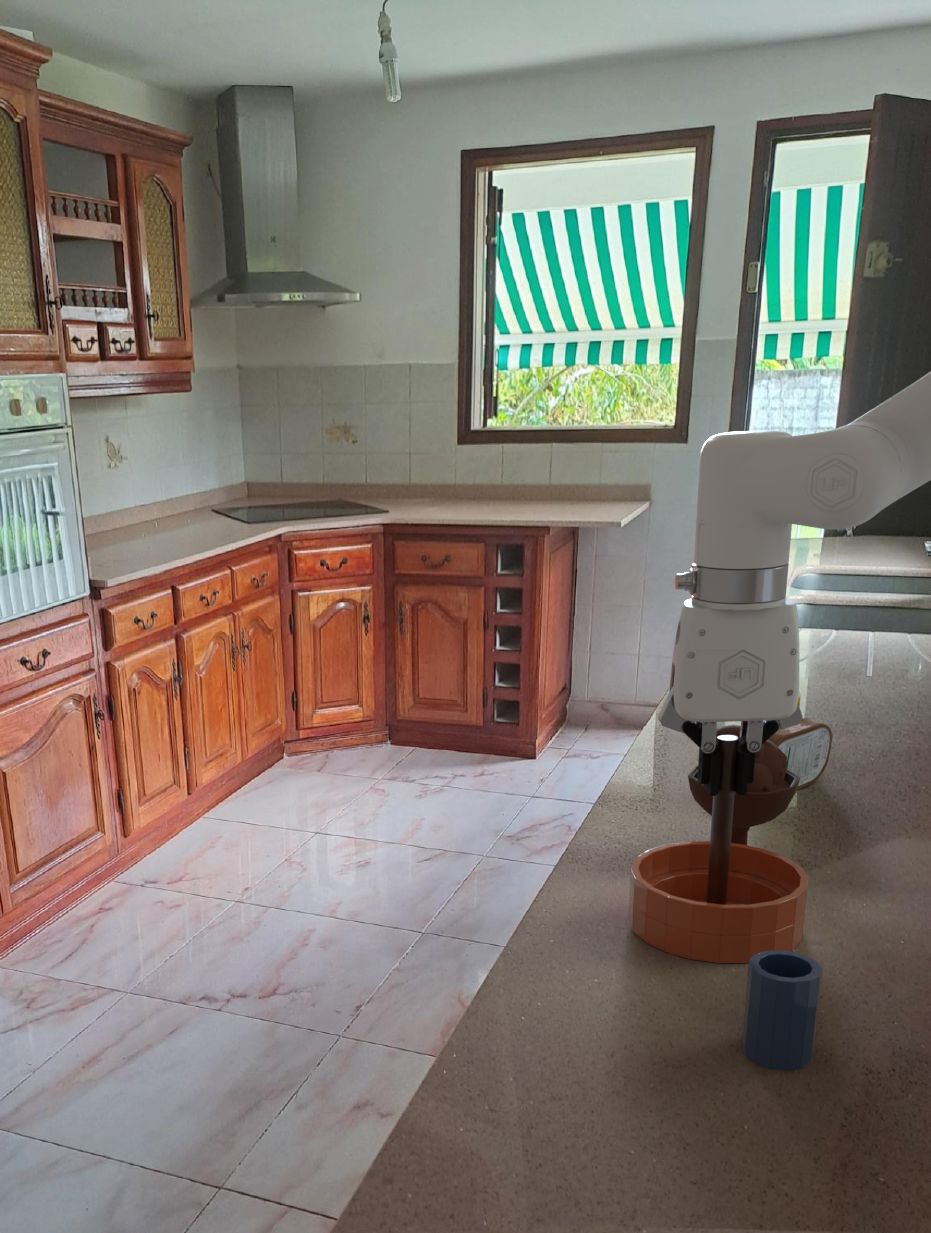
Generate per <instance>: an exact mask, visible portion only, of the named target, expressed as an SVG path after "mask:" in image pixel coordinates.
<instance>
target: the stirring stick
mask: <svg viewBox="0 0 931 1233" xmlns="http://www.w3.org/2000/svg"><path fill="white" fill-rule="evenodd" d="M738 742H739V738H738V737H736V736H732V735H721V736H718V737H717V745H718V747H717V751H718V752H719V753H720V754H721V764H720V778H719V792H718V794H716V796H713V807H712V816H711V822H710V836H709V837H710V838H709V841H710V851H709V865H708V880H707V895H706V903H713V904H721V905H726V901H727V888H728V875H729V861H730V848H731V835H732V822H733V808H734V795H735V781H736V767H737V754H738Z"/></svg>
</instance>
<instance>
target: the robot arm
mask: <svg viewBox="0 0 931 1233" xmlns="http://www.w3.org/2000/svg"><path fill="white" fill-rule="evenodd" d="M699 456H700V457H699V465H698V484H697V485H698V486H697V502H696V517H695V519H696V520H695V537H694V541H695V542H694V554H693V556H694V557H693V563H691V568H689V571H685V572H684V573H676V574H675V577H674V578H675V579H674V587H675V590H676V591H678V590H679V591H680V590H683V591H684V592H688V593H689V594H690V595H691V598H689V599H686V600H684V601H683V605H682V608H681V611H680V615H679V619H678V624H677V629H676V633H675V640H674V646H673V651H672V659H671V668H670V677H669V688H668V691H669V692H668V695H667V697H666V699H665V701H664V703H663V706H662V708H661V710H660V712H659V713H658V716H657V719H658V721H659V723H660V725H661V727H663V728H667V729H670V730H672V731H676V732H680V733H682V734H684V735H685V736H687V737H688V738H689V739H690V741H692V742H693V743H694V744H695V745H696V746H697V747H698V760H697V761H698V764H697V766H698V782H699V784H703V786H704V788H705V790H706V791H707V793H708V794H709V796H716V794H718V792H719V778H720V764H721V754H720V753H719V752H718V751H717V747H718V745H717V744H716V730H717V729H718V726H717V725H718V723H719V722H720V723H724V722H725V723H726V722H740V726H741V729H740V738H739V742H738V754H737V767H736V781H735V792H736V793H737V794H739V795H740V796H743V795H746V793H747V783H753V778H754V765H755V753H756V752H758V751H759V750H760V749H761V745H762V744H763V743H764V742H766V741H767V740H768V739H769V738H770V737H771V736H772V735H774V734H775V733H776V732H777V731H778V730H780V729H784V728H787V727H790V726H792V725H795V724H798V723H800V722H801V721H802V719H803V718H804V717H803V713H802V710H801V707H799V704H798V695H799V692H800V628H799V615H798V606H797V602H796V601H794V600H793V599H790V598H788V597H787V590H788V588H787V587H788V576H789V566H790V564H789V562H790V551H791V540H792V529H793V528H792V527H793V525H795V526H801V527H808V528H815V529H822V530H834V531H835V530H846V529H851V528H856V527H858V526H860V525H863V524H864V523H867V522H868V521H869V520H871V519H872V518H874V517H875V516H876V515H878V514H879V513H880V512H881V511H883V510H884V509H886V508H887V507H888V506H890V505H892V504H893V503H895V502H897V501H898V500H900V499H902V498H903V497H905V496H907V495H908V494H910V493H912V492H913V491H914V490H916V489H918V488H920V487H922V486H923V485H925V484H926V483H928V482H930V481H931V371H929V372H928V373H926V374H925V375H923V376H922V377H920V378H919V379H917V380H916V381H914V382H913V383H911V384H910V385H908V386H906V387H905V388H904V389H902V390H901V391H898V392H897V393H895V394H894V395H893V396H891V397H889V398H888V399H886V400H885V401H883V402H881V403H880V404H879V405H876V406H875V407H874V408H872V409H870V410H868V412H866V413H864V414H863V415H861V416H859V417H857V418H856V419H854V420H853V421H851V422H850V423H847V424H845V425H842V426H839V427H836V428H834V429H831V430H825V431H820V432H814V433H807V434H797V435H792V434H790V433H788V432H785V431H779V430H740V431H729V432H722V433H718V434H717V433H716V434H714V435H712V436H710V437H709V438H708V439H707V440H706V441H705V442H704V443H703V445H702V448H701V450H700V455H699Z"/></svg>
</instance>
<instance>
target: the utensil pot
mask: <svg viewBox="0 0 931 1233" xmlns="http://www.w3.org/2000/svg"><path fill="white" fill-rule="evenodd" d="M823 972H824V970H823V968H822V965H821V964H820V963H819V962H818V961H817V960H815V959H814V958H812V957H810V956H808V955H806V954H803V953H799V952H797V951H793V950H792V951H783V950H771V951H763V952H760V953H757V954H755V955H753V956H752V957H751V959H750V961H749V963H748V967H747V979H746V988H745V989H746V990H745V1000H744V1012H743V1024H742V1035H741V1036H742V1037H741V1049H742V1050H741V1051H742V1053H743V1054H744V1056H745V1057H746V1058H747V1059H748V1060H750V1062H752V1063H754V1064H756V1065H757V1066H761V1067H762V1068H763V1067H764V1068H767V1069H771V1070H775V1071H795V1070H799V1069H803V1068H806V1067H808V1066H809V1065H810V1064H811V1062H812V1060H813V1057H814V1051H815V1042H816V1034H817V1033H816V1032H817V1024H818V1017H819V1016H818V1014H819V1006H820V998H821V988H822V979H823Z"/></svg>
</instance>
